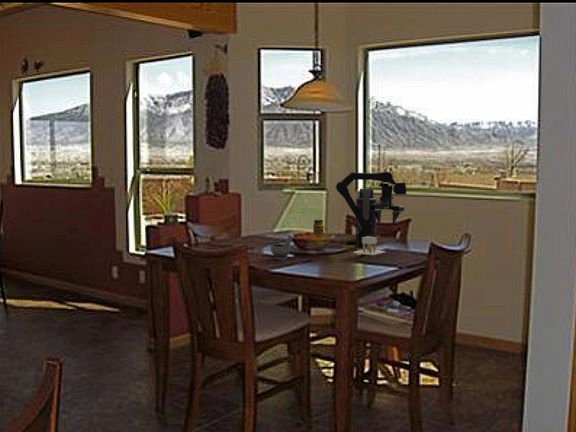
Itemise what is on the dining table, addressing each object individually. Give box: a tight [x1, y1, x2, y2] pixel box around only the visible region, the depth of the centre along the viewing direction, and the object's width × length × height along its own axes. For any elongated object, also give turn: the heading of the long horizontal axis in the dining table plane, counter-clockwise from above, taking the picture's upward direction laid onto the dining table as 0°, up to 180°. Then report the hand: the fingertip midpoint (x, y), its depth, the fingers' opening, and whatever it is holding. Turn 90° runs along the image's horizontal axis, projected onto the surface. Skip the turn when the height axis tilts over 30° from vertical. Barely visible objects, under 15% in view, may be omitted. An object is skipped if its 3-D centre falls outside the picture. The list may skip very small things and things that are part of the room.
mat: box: [353, 248, 386, 256], centre depth 360 cm, size 12×12×1 cm
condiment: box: [312, 219, 325, 234], centre depth 404 cm, size 7×8×12 cm
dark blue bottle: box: [355, 188, 378, 237], centre depth 406 cm, size 14×12×30 cm
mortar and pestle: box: [270, 234, 294, 261], centre depth 340 cm, size 11×9×12 cm
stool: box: [362, 236, 378, 253], centre depth 360 cm, size 6×6×8 cm
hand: (386, 223), depth 377 cm, fingers open, 9 cm apart
